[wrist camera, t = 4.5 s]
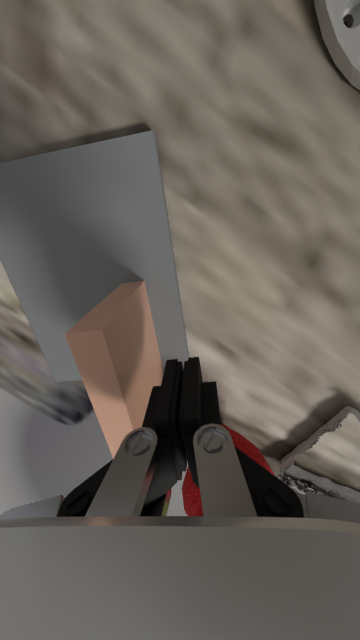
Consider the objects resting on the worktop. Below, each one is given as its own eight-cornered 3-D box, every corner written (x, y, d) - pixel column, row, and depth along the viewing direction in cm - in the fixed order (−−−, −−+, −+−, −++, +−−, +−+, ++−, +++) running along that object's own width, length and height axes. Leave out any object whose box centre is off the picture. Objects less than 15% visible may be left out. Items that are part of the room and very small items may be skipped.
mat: (-31, 172, 14) (-40, 171, 14) (155, 133, 13) (153, 129, 12) (59, 377, 21) (55, 381, 20) (190, 368, 19) (190, 372, 19)
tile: (121, 283, 16) (63, 333, 9) (144, 280, 16) (102, 329, 9) (144, 375, 19) (114, 463, 12) (164, 374, 19) (143, 463, 12)
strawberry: (273, 422, 21) (328, 579, 12) (215, 459, 24) (225, 610, 15) (226, 387, 20) (248, 533, 11) (171, 431, 23) (152, 576, 13)
